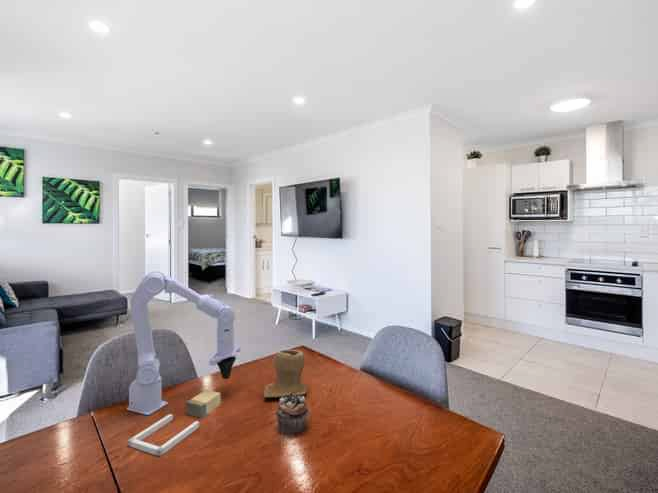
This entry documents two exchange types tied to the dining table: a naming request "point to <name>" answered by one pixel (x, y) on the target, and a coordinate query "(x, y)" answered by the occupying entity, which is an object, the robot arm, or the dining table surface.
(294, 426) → the cupcake
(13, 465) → the dining table surface
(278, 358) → the stone cup
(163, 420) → the end holder
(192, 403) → the block
